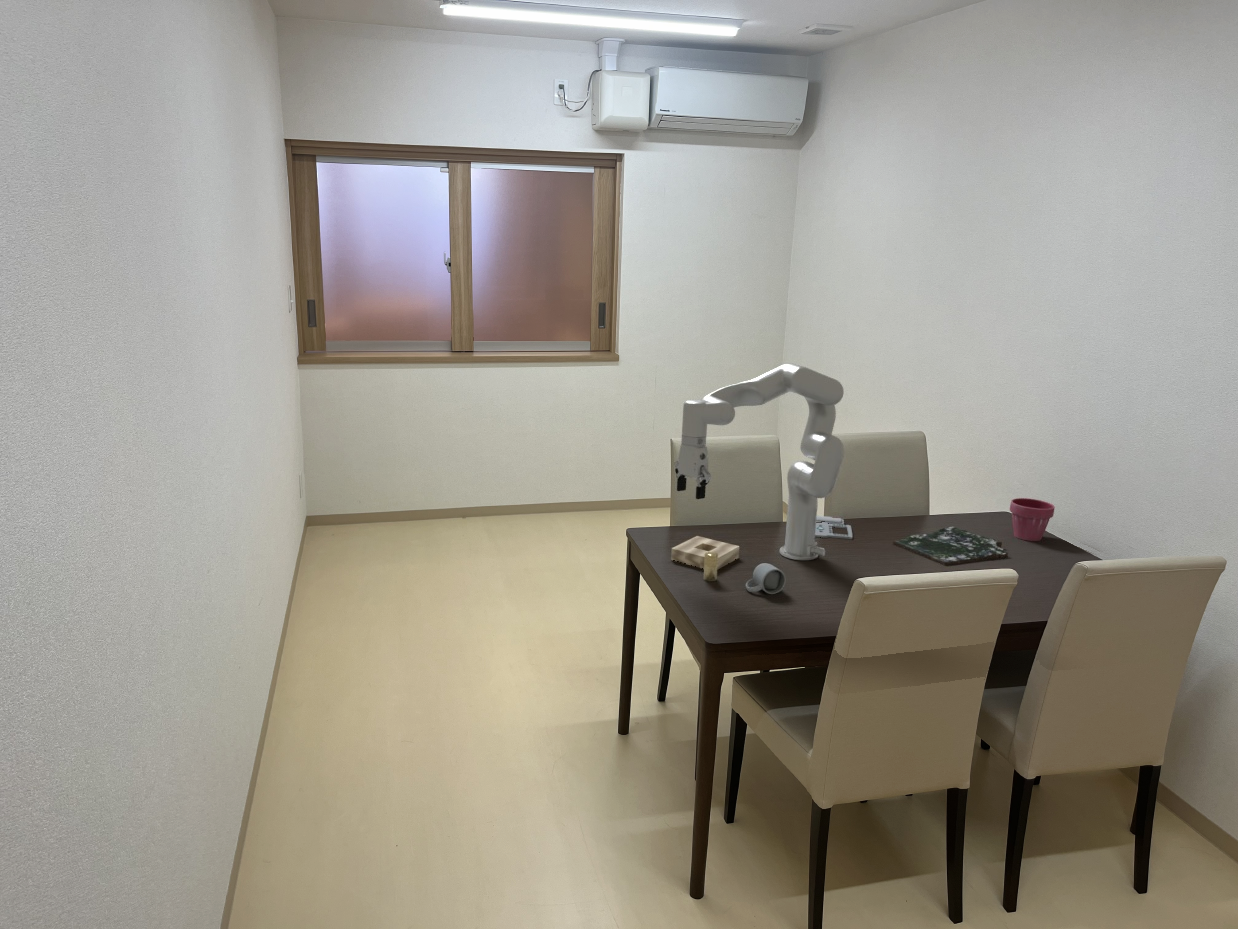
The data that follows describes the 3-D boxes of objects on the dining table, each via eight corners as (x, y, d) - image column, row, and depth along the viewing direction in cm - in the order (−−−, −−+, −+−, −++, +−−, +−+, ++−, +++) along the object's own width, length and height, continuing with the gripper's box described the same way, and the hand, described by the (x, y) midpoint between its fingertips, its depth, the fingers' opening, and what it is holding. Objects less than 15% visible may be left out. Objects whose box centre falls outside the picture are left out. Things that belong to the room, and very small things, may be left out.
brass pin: (718, 578, 263) (720, 554, 261) (712, 582, 260) (713, 557, 258) (707, 575, 265) (708, 551, 263) (701, 579, 262) (702, 554, 260)
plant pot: (1037, 531, 316) (1042, 497, 313) (1057, 544, 303) (1062, 509, 299) (999, 530, 316) (1003, 497, 313) (1017, 543, 302) (1022, 508, 299)
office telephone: (795, 511, 326) (849, 515, 323) (795, 518, 327) (849, 522, 323) (795, 529, 304) (853, 534, 300) (794, 536, 305) (852, 541, 301)
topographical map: (892, 545, 298) (893, 537, 297) (957, 532, 314) (958, 525, 313) (952, 570, 276) (953, 561, 276) (1019, 555, 292) (1020, 547, 291)
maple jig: (738, 557, 281) (739, 546, 280) (714, 571, 269) (714, 559, 268) (696, 547, 290) (697, 535, 289) (671, 560, 278) (671, 548, 277)
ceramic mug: (772, 582, 261) (773, 558, 259) (785, 592, 254) (786, 568, 252) (740, 586, 258) (741, 562, 256) (752, 597, 250) (754, 572, 248)
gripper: (721, 445, 257) (717, 500, 261) (686, 434, 271) (683, 486, 275) (701, 447, 253) (697, 503, 257) (667, 436, 267) (664, 489, 271)
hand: (690, 494), depth 266 cm, fingers open, 9 cm apart
